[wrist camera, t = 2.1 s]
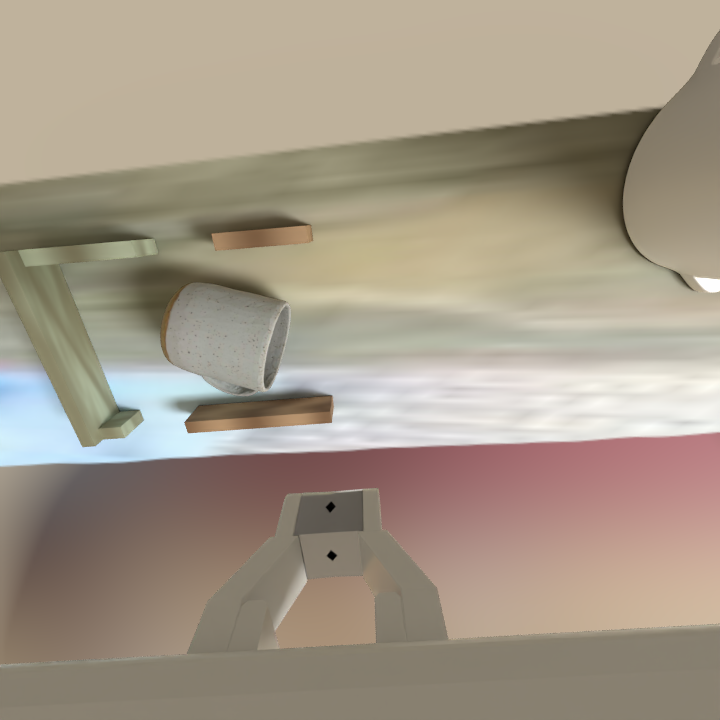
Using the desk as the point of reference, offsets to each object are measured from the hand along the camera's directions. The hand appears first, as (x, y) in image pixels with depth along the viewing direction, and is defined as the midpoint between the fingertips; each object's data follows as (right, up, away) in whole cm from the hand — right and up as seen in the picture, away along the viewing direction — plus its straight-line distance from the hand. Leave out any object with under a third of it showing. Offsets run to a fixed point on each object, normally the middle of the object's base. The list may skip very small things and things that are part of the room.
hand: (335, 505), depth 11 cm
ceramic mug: (-10, +7, +20) cm, 23 cm away
